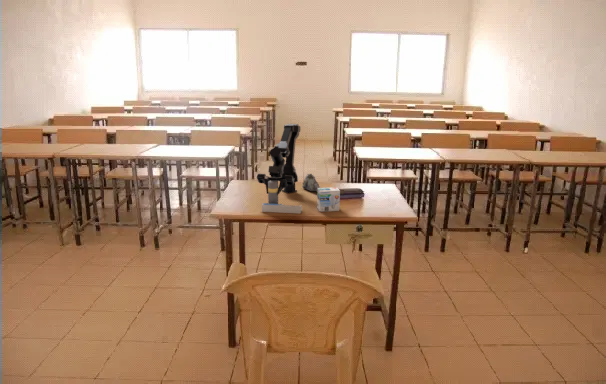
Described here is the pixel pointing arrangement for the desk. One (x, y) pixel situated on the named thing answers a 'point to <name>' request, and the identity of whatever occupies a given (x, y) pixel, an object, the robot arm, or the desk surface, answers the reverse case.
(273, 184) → the grey banded capsule
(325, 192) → the light bulb box
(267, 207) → the white blue striped bracket
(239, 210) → the desk surface
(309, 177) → the mineral rock
